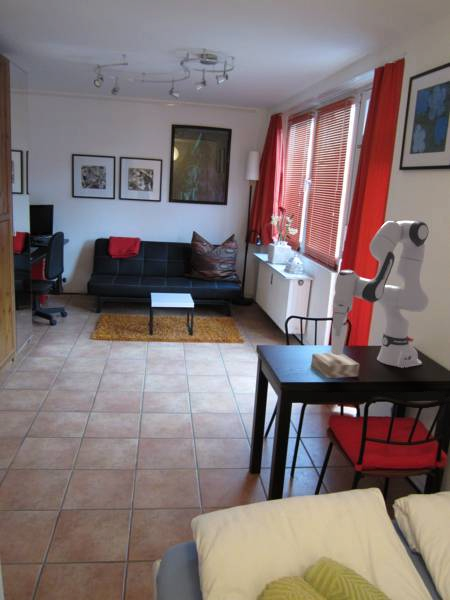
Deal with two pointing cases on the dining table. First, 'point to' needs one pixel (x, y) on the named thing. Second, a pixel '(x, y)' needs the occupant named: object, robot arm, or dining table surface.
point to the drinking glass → (338, 340)
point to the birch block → (335, 365)
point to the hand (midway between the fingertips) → (338, 333)
